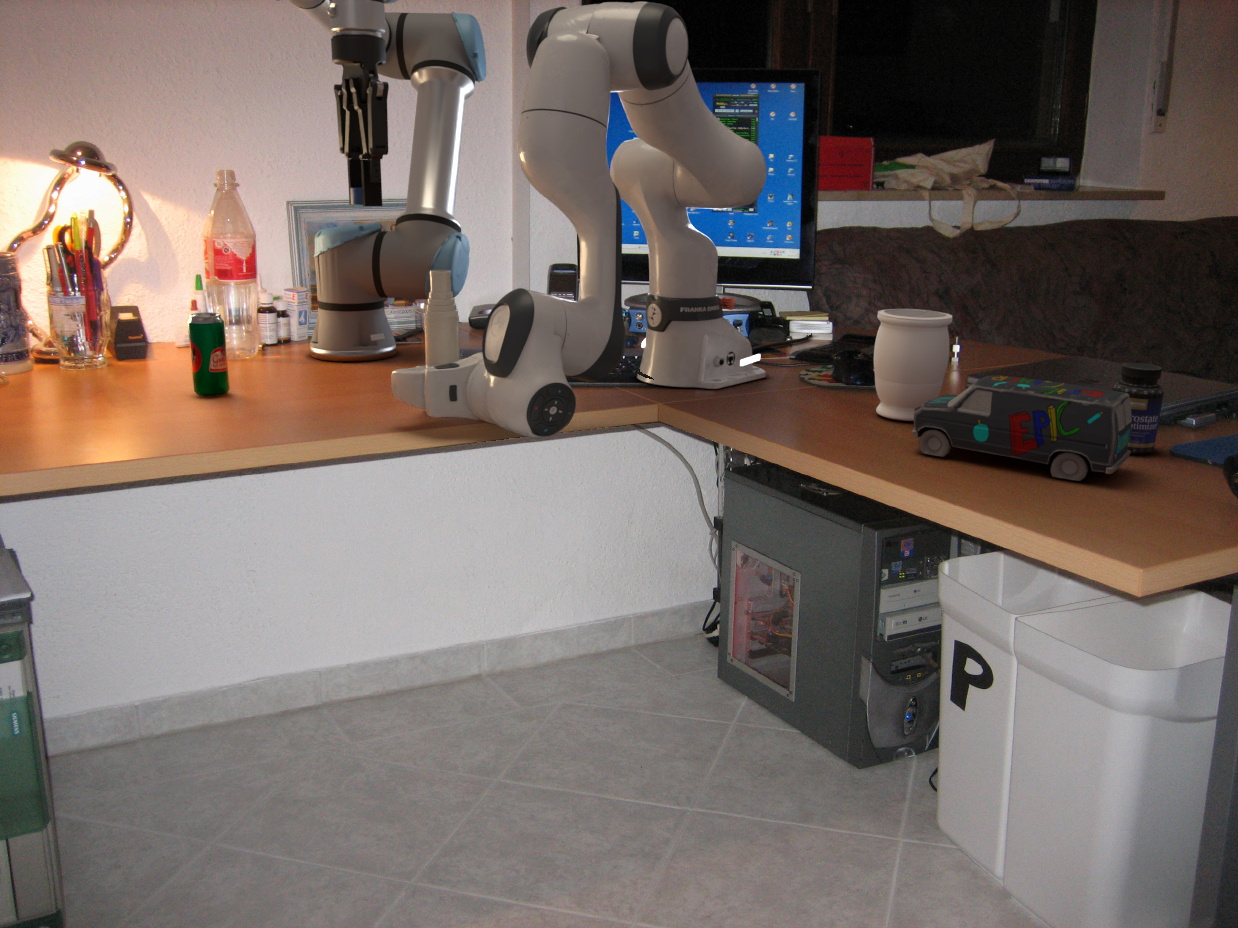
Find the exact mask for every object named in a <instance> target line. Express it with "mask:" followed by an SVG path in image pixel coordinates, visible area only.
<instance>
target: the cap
mask: <svg viewBox="0 0 1238 928" xmlns="http://www.w3.org/2000/svg"><path fill="white" fill-rule="evenodd" d="M350 190H351V204H353V205H352V206H363V195H362V188H350Z"/></svg>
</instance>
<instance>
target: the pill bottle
mask: <svg viewBox="0 0 1238 928" xmlns="http://www.w3.org/2000/svg"><path fill="white" fill-rule="evenodd" d="M1162 371H1163V367H1161V366H1158V365H1155V364H1149V363H1142V362H1141V363H1140V362H1126V363H1122V365H1121V369H1120V375H1121V380H1119V381H1116V382H1115V383H1114V384H1113V385H1112V388H1111V391H1118V392H1124V393H1127V394H1129V396H1130V405H1131V414H1132V423H1133V427H1132V430H1131V436H1130V440H1129V442H1130V445H1129V446H1128V450H1130V451H1131V453H1130V454H1140V455H1141V454H1148V453H1151V452H1153V451H1154V450H1155V448H1156V440H1157V435H1158V428H1159V424H1160V419H1161V418H1160V417H1161V412H1162V407H1163V399H1164V395H1165V391H1164V389H1163V387H1162V386H1161V385H1159V383H1158V381H1159V380H1160V379H1161V377H1162Z"/></svg>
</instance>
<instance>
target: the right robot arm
mask: <svg viewBox="0 0 1238 928" xmlns="http://www.w3.org/2000/svg"><path fill="white" fill-rule="evenodd" d="M525 45H526V49H525V50H526V51H525V52H526V58H527V63H528V66H529V69H530V70H529V73H528V76H527V80H526V84H525V89H524V93H523V97H522V98H523V99H522V101H521V102H522V104H521V110H520V115H519V122H518V129H517V135H516V155H517V162H518V164H519V167H520V170H521V171H522V173H523V175H524V176H525V178H526V180H527V181H528V182H529V184H530V185H531V186H532V187H533V188H534V190H536V191H537V192H538V193H539V194H540V195H541V196H543V197H544V198H545V199H547V200H548V201H549V202H550V203H551V204H553V205H554V206H555V207H556V208H557V209H558V210H559V211H560V212H561V213H562V214H563V215H564V216H565V217H566V218H567V219H568V220H569V221H570V223H571V224H572V226H573V227H574V229H575V232H576V233H577V238H578V241H579V299H578V301H576V300H572V299H568V298H563V297H560V296H556V295H552V294H548V293H546V292H545V293H544V292H540V291H535V290H531V289H526V288H523V287H522V288H521V287H519V288H515V289H512V290H511V291H509V292H507V293H506V294H504V296H502V297H501V298H500V300H498V301H497V302H496V303H495V305H494V306H493V308H492V309H491V311H490V312H489V313H488V315H487V317H486V321H485V325H484V329H483V332H482V333H483V334H482V342H481V344H482V345H481V352H477V353H474V354H471V355H470V356H468V357H464V358H462V359H461V358H460V360H459V361H456V362H453V363H448V364H442V365H433V366H427V365H426V364H424V365H417V366H415V367H407V368H406V367H405V368H396V369H393V371H392V372H391V375H390V387H391V394H392V396H393V397H394V398H395V399H396V400H398V401H400V402H402V403H403V404H405V405H408V406H410V407H412V408H416V409H420V410H425V412H426V415H427V416H428V417H431V418H439V419H440V418H441V419H442V418H444V419H445V418H446V419H447V418H451V419H452V418H455V419H456V418H458V419H459V418H463V419H470V420H475V421H480V420H481V421H483V422H486V423H488V424H492V425H497V427H499V428H501V429H502V430H505V431H508V432H510V433H513V434H516V435H519V436H523V437H528V438H534V439H535V438H537V439H540V438H548V437H552V436H553V435H556V434H557V433H559V432H561V431H562V430H564V429H565V428H566V427H567V426H568V425H569V424H570V423H571V421H572V419H573V418H574V415H575V412H576V409H577V397H576V394H575V392H574V390H573V388H572V386H571V384H570V383H569V381H568V380H567V379H568V378H567V377H569V378H570V379H571V378H572V379H575V380H578V381H582V382H585V383H590V384H591V383H593V384H594V383H598V382H599V381H601V380H603V379H604V378H606V377H607V376H608V375H610V374H611V373H612V372H613V371H614V370H615V369H616V368H617V367H618V366H619V365H620V363H621V361H622V359H623V358H624V356H625V351H626V347H627V346H626V345H627V336H626V327H625V320H624V315H623V314H624V313H623V305H622V303H623V302H622V300H623V299H622V297H623V296H622V295H623V294H622V289H623V288H622V287H623V284H622V283H623V212H622V211H623V209H622V201H624V202H625V203H626V204H627V205H628V207H630V209H631V210H632V211H633V212H634V214H635V215H636V218H637V219H638V221H639V223H640V225H641V227H642V230H643V233H644V235H645V239H646V244H647V250H648V270H649V271H648V272H649V274H648V275H649V276H648V277H649V280H648V281H649V282H648V283H649V284H648V292H647V293H646V298H645V320H646V333H645V338H644V339H643V341H642V342H641V348H642V349H643V351H642V357H641V362H640V365H639V369H640V372H642V373H643V374H646V375H648V376H650V377H652V378H653V379H654V380H653V379H649V378H645V377H643V376H641V375H639V374H638V373H637V374H636V378H637V379H638V380H639V381H641V382H644V383H646V384H647V383H648V384H652V385H655V386H656V385H657V386H664V387H674V388H699V389H706V390H707V389H709V390H717V389H722V388H727V387H730V386H734V385H739V384H743V383H748V382H751V381H752V382H753V381H755V380H759V379H760V380H761V379H763V378H766V377H767V372H766V371H765V370H764V369H763V368H760V367H759V366H756V365H753V364H754V363H755V362H758V361H760V360H761V353H757V354H754V355H753V352H756V351H760V350H763V349H767V348H773V347H774V348H775V347H781V346H786V345H792V344H798V343H803V342H806V341H808V340H809V339H810V338H812V337H813V333H811V335H809V336H808V335H807V334H806V336H803V337H800V338H795V339H790V340H784V341H778V342H771V343H765V344H761V345H756V346H754V347H752V344H751V341H750V340H749V338H747V336H746V335H744V334H743V333H742V332H741V331H739V330H738V329H737V328H736V327H735V326H734V325H732V323H730V321H728V320H727V318H725V317H724V316H725V314H724V310H725V309H727V310H730V311H733V310H734V309H735V307H736V305H737V302H736V301H737V300H736V299H735V298H734V297H728V296H722V298H721V297H719V295H718V294H717V285H718V265H719V263H718V262H719V252H718V249H717V246H716V245H715V243H714V241H713V240H712V239H711V238H710V237H709V236H707V235H706V234H704V233H703V232H701V231H699V230H698V229H696V228H695V227H694V226H693V224H692V223H691V221H690V218H689V214H688V209H710V210H727V209H734V208H739V207H745V206H749V205H752V204H753V203H754V202H755V201H756V200H757V199H758V198H759V197H760V195H761V194H762V191H763V190H764V187H765V184H766V181H767V173H768V171H767V170H768V169H767V163H766V159H765V155H764V153H763V152H762V150H761V149H760V148H759V146H758V145H757V144H756V143H755V142H753V141H751V140H748V139H746V138H744V137H742V136H740V135H738V134H737V133H735V132H734V131H732V130H731V129H730V128H729V127H727V126H726V125H725V124H724V123H723V122H722V121H721V120H720V119H719V118H717V116H716V115H715V114H714V113H713V112H712V111H711V110H710V108H709V107H708V106H707V104H706V103H705V101H704V99H703V97H702V95H701V91H700V90H699V87H698V84H697V82H696V80H695V77H694V74H693V72H692V71H693V70H692V68H691V65H690V61H689V59H688V57H689V47H690V46H689V33H688V29H687V26H686V23H685V20H684V19H683V17H682V16H681V15H680V14H679V13H678V12H677V11H676V10H675V9H674V8H673V7H671V6H669V5H666V4H663V3H658V2H650V1H633V2H623V1H606V2H605V1H604V2H602V3H593V4H584V5H578V6H577V5H576V6H572V7H568V8H567V7H566V6H559V7H555V8H551V9H548V10H544V11H543V12H540V13H539V15H538V16H537V17H536V18H535V19H534V21H533V22H532V24H531V26H530V27H529V31H528V33H527V37H526V44H525ZM611 93H617V94H618V97H619V99H620V102H621V105H622V108H623V110H624V113H625V114H626V118H627V120H628V123H629V124H630V128H631V129H632V132H634V134H635V135H636V138H633V139H628V140H624V141H622V142H621V143H620V145H619V146H618V147H617V148H616V149H615V152H614V153H613V156H612V158H611V161H610V166H609V162H608V154H607V152H608V151H607V137H608V128H609V121H610V110H611V109H610V108H611ZM609 167H610V168H609ZM723 309H724V310H723Z"/></svg>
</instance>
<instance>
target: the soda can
mask: <svg viewBox="0 0 1238 928" xmlns="http://www.w3.org/2000/svg"><path fill="white" fill-rule="evenodd" d="M221 315H222V314H221V313H219V312H196V313H191V314H189V319H188V321H187V331H188V343H189V352H190V363H191V364H190V365H191V372H192V382H193V392H194V393H195V394H196V395H197V396H199V397H203V398H204V397H205V398H213V397H220V396H225V395H227V394H228V393H229V391H230V390H231V389H230V388H231V387H230V376H229V375H230V374H229V363H228V351H227V341H226V339H227V338H226V329H225V321H224V319H223V318H222V316H221Z"/></svg>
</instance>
